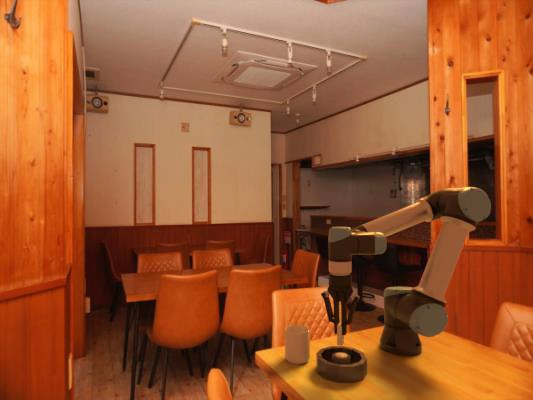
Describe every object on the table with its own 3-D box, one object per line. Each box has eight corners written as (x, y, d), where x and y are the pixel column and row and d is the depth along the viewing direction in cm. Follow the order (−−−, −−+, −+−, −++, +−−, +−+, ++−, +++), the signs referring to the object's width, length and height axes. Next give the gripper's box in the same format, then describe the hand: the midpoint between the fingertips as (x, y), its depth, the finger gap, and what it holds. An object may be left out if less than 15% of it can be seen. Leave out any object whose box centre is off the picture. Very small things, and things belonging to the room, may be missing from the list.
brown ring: (359, 360, 129) (359, 345, 129) (371, 382, 113) (371, 366, 113) (314, 360, 129) (314, 345, 129) (320, 382, 113) (320, 366, 114)
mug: (310, 365, 125) (310, 333, 125) (284, 365, 126) (284, 333, 126) (309, 351, 137) (308, 321, 137) (285, 350, 138) (285, 321, 138)
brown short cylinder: (348, 366, 124) (348, 351, 124) (352, 375, 118) (352, 359, 118) (330, 366, 124) (330, 351, 124) (333, 375, 118) (333, 359, 118)
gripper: (362, 272, 122) (362, 343, 121) (325, 269, 128) (325, 336, 128) (356, 277, 115) (357, 351, 115) (317, 273, 121) (318, 344, 121)
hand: (340, 343), depth 121 cm, fingers closed
